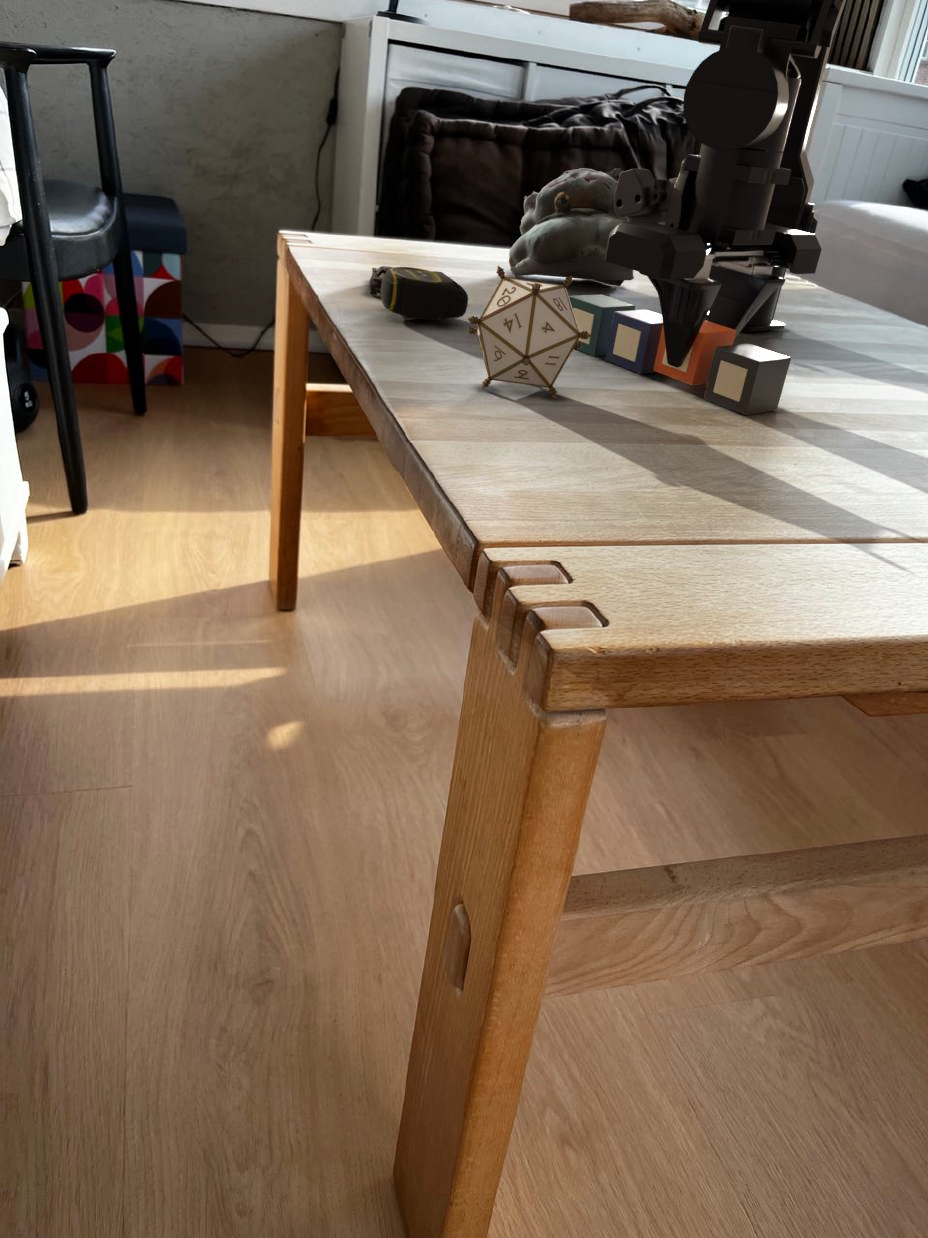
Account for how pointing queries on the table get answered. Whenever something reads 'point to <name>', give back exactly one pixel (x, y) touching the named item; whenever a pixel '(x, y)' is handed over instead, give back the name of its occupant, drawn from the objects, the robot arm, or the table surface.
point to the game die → (527, 332)
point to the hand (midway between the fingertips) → (691, 363)
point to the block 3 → (746, 378)
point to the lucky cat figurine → (570, 229)
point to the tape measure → (422, 294)
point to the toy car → (377, 279)
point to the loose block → (695, 354)
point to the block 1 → (596, 320)
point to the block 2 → (635, 340)
